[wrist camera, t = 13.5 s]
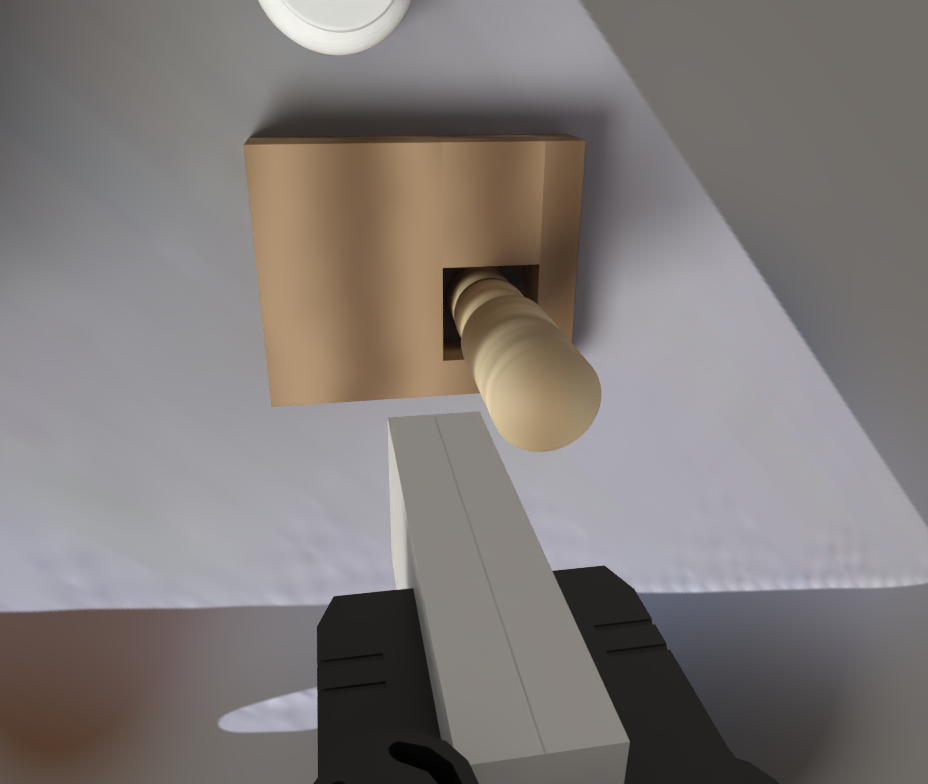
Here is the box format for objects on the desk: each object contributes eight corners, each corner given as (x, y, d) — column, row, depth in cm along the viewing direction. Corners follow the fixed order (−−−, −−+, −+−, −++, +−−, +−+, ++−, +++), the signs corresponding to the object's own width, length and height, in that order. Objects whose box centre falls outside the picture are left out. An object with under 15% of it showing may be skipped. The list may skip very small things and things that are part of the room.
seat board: (274, 383, 42) (271, 406, 39) (248, 137, 37) (243, 144, 34) (553, 366, 45) (568, 387, 42) (567, 134, 39) (585, 140, 37)
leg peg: (439, 336, 43) (490, 455, 30) (439, 259, 41) (492, 352, 28) (516, 331, 43) (596, 447, 31) (519, 256, 42) (605, 345, 29)
